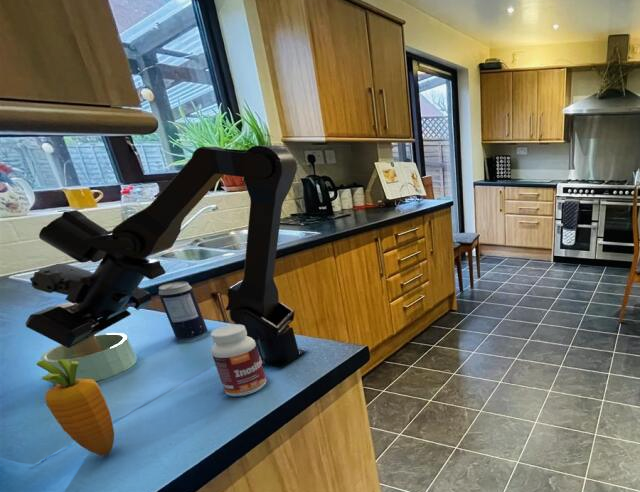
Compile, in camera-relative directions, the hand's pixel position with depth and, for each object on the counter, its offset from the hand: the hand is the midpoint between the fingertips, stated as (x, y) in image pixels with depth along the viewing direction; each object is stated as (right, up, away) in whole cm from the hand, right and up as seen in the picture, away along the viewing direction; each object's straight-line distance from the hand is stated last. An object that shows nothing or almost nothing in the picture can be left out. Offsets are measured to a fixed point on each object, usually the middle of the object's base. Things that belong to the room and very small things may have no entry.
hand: (74, 341), depth 72 cm
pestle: (+1, -5, +3) cm, 6 cm away
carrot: (+24, -15, -18) cm, 33 cm away
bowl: (+1, -6, +3) cm, 7 cm away
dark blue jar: (+8, 0, +16) cm, 18 cm away
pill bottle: (+33, -8, -3) cm, 34 cm away
